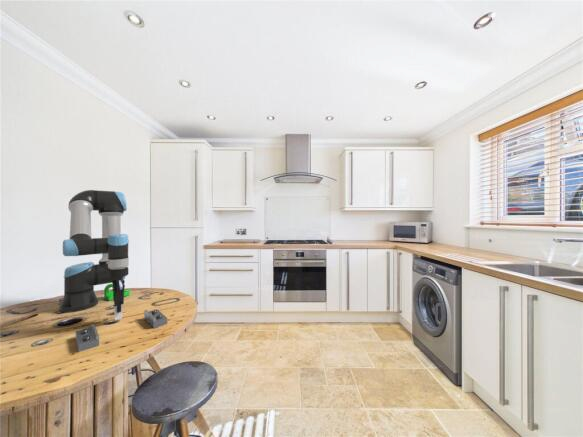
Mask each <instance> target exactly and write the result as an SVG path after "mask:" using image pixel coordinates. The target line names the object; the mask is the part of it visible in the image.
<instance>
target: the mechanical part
mask: <svg viewBox="0 0 583 437" xmlns="http://www.w3.org/2000/svg"><path fill="white" fill-rule="evenodd" d="M111 288H112V290H110V289H111ZM103 293H104V299H105V300H107V301H111V300H112V301H113V284H112V283H108V284H107V285H106V286H105V287H104V290H103ZM129 295H131V290H129V289H124V297H126V296H129Z"/></svg>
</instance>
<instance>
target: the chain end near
mask: <svg viewBox="0 0 583 437" xmlns="http://www.w3.org/2000/svg"><path fill="white" fill-rule="evenodd" d="M75 341H76V345H77V346H76V347H77V350H78V352H79V353H80V352H83V351H86V350H90V349H92V348H95V347H99V346H100V335H99V332H98V330H97V328H96V325H95V323H91V327H89V326H88V327H87V328H82V329H79V330H76V331H75Z"/></svg>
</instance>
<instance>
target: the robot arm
mask: <svg viewBox="0 0 583 437" xmlns="http://www.w3.org/2000/svg"><path fill="white" fill-rule="evenodd" d="M127 209H128V208H127V199H126V196H125V194H124V193H123V192H120V191H114V190H113V191H112V190H111V191H110V190H97V189H96V190H94V189H88V190H84V191H80V192H78V193H76V194H75V195H74V196H72V197H71V199H70V200H69V201H68V210H69V212H70V221H69V222H70V224H69V238H68V239H64V240H63V241H62V254H63V256H64V257H79V256H81V257H82V256H88V255H89V256H90V255H101V258H100V259H99V260H98V263H96V264H95V263H94V262H92V261H89V262H82V263H77V264H73V265H70V266H68V267H66V268H65V269H64V274H63V275H64V276H63V279H64V280H63V281H64V282H63V283H64V284H63V286H64V288H63V289H64V293H63V294H64V295H63V298H62V300H61V302H60V304H59V310H58V311H59V312H60V313H75V312H79V311H86V310H87V309H91V308H93V307H95V306H97V305H98V304H99V299H98V297H97V294H96V292H95V289H94V288H95V286H100V285H101V286H102V285H106V284H107V285H108V284H113V288H112V289H113V299H112V301H113V308H114V317H113V319H114V321H117V320H120V319H121V320H122V319H123V305H124V303H125V302H124V300H125V299H124V298H125V296H124V290H125V287H126V286H125V285H126V284H125V279H126V276H128V275H129V242H130V240H129V234H125V233H121V231H122V230H121V229H122V228H121V217H122V216H123V215H124V212H126V211H127ZM92 211H98V214H99V215H100V216H101V237H96V238H95V237H94V238H92V216H91V215H92V214H91V212H92Z"/></svg>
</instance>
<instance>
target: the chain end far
mask: <svg viewBox="0 0 583 437" xmlns="http://www.w3.org/2000/svg"><path fill="white" fill-rule="evenodd" d="M143 313H144V314H143V319H144V320H145V321H146V323H148V324H149V325H150V326H151V327H152V328H153V329H155V328H159V327H162V326H165V325H168V317H167V316H166V315H164V313H163V312H161V311H160V310H159V309H157V308H156V309H152V310H149V311H148V310H147V309H144V310H143Z"/></svg>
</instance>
